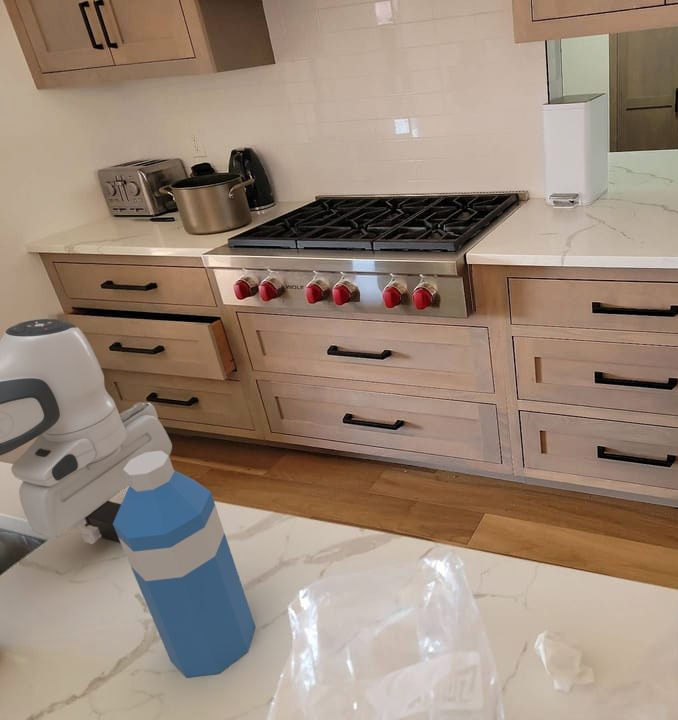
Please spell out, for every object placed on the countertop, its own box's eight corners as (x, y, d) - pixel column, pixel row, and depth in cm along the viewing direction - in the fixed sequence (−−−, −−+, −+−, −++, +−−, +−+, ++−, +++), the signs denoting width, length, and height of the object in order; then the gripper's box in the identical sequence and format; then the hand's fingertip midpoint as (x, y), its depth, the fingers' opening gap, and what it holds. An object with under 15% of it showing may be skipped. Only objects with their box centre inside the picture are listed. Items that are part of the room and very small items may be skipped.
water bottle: (221, 687, 72) (148, 498, 61) (151, 668, 75) (70, 485, 64) (272, 619, 80) (216, 441, 68) (207, 604, 83) (144, 431, 72)
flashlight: (87, 535, 97) (77, 512, 95) (112, 517, 100) (102, 494, 98) (149, 553, 92) (139, 529, 90) (172, 533, 95) (163, 510, 94)
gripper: (133, 393, 98) (163, 470, 105) (-3, 476, 82) (42, 562, 88) (165, 398, 96) (193, 477, 102) (31, 485, 79) (74, 573, 86)
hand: (122, 517), depth 95 cm, fingers open, 8 cm apart
